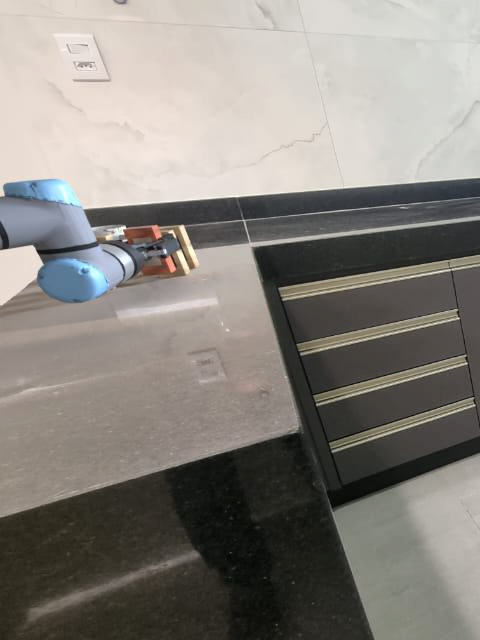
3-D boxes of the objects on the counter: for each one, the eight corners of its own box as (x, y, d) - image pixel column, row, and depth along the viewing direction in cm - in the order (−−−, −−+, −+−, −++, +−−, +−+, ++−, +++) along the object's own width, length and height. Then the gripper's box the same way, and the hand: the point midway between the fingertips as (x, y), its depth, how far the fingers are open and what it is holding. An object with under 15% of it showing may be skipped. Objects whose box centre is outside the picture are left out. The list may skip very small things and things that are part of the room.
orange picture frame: (143, 276, 114) (121, 229, 110) (148, 273, 117) (128, 227, 113) (171, 273, 116) (151, 227, 112) (176, 269, 118) (157, 224, 114)
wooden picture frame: (159, 278, 121) (140, 234, 117) (175, 268, 130) (157, 227, 125) (185, 275, 123) (167, 231, 118) (199, 265, 131) (183, 224, 127)
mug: (120, 264, 136) (102, 225, 131) (167, 263, 135) (150, 223, 131) (89, 273, 128) (68, 232, 124) (138, 271, 128) (119, 230, 123)
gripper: (57, 290, 97) (115, 262, 117) (176, 275, 103) (211, 252, 123) (36, 250, 94) (98, 228, 114) (159, 237, 100) (199, 219, 120)
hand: (157, 240), depth 118 cm, fingers closed on orange picture frame, 5 cm apart
